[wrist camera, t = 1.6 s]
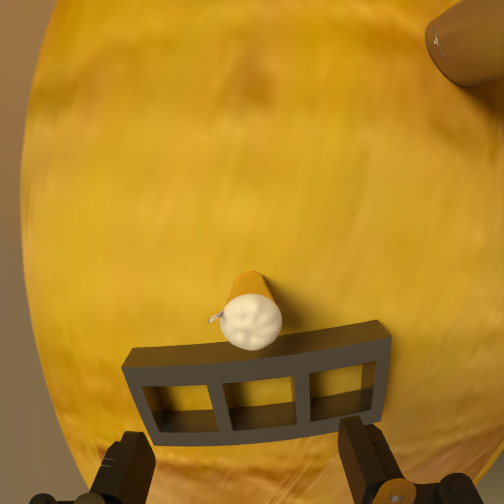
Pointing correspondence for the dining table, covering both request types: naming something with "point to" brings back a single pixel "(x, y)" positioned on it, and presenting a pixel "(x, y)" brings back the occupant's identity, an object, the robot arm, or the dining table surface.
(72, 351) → the dining table surface
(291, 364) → the three-window grey frame
